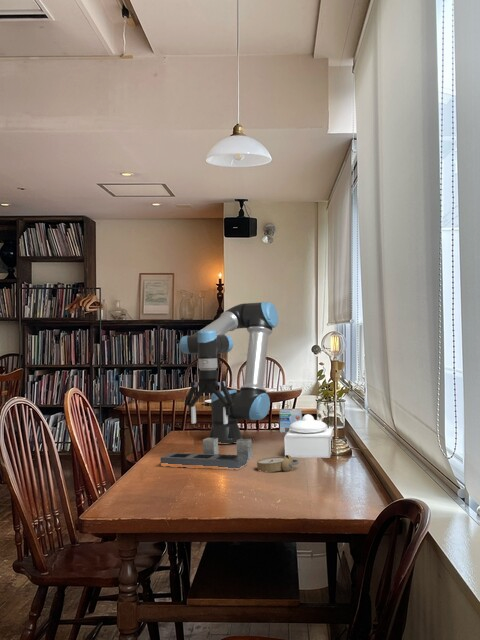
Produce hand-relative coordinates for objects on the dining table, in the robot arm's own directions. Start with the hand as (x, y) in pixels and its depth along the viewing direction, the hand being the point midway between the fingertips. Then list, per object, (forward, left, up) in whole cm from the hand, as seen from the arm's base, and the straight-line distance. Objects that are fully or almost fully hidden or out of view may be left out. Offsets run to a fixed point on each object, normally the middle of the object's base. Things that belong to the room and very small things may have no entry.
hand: (209, 423), depth 245 cm
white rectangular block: (0, +14, -14) cm, 20 cm away
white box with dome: (-18, +35, -14) cm, 42 cm away
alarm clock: (+11, +31, -15) cm, 36 cm away
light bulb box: (-68, +14, -14) cm, 71 cm away
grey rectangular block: (0, 0, -14) cm, 14 cm away
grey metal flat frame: (+12, +2, -14) cm, 18 cm away
